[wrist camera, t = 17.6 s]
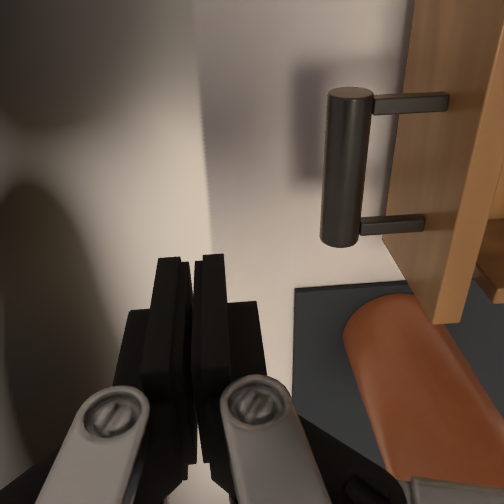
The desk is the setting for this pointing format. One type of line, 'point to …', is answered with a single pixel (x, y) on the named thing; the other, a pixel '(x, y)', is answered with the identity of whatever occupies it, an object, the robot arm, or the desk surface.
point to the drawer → (431, 158)
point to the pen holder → (423, 395)
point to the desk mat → (339, 369)
